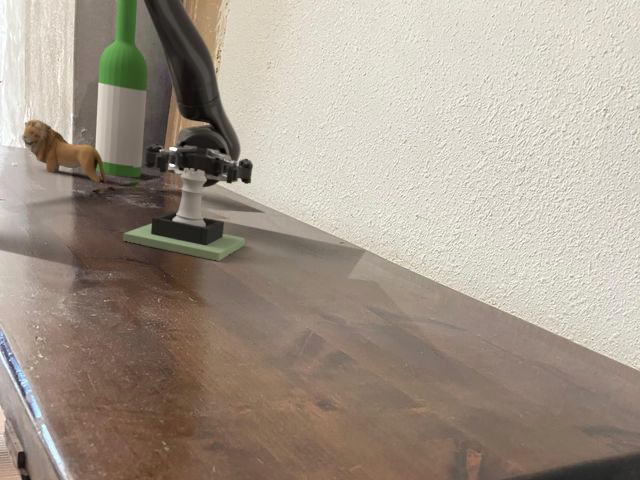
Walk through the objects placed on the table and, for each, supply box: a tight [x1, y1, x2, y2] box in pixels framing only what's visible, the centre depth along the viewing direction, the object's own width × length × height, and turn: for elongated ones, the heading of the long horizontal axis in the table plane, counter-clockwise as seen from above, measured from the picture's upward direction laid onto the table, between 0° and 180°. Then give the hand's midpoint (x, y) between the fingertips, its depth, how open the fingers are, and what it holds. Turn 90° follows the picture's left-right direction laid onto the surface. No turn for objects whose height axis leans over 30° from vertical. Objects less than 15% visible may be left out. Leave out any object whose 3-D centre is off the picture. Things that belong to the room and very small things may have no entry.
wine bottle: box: [94, 0, 148, 187], centre depth 123 cm, size 8×8×30 cm
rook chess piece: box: [172, 168, 207, 228], centre depth 93 cm, size 4×4×8 cm
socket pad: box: [123, 210, 246, 262], centre depth 94 cm, size 12×12×3 cm
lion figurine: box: [21, 119, 116, 194], centre depth 116 cm, size 15×5×9 cm, turn 88°
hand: (196, 169), depth 96 cm, fingers open, 8 cm apart
